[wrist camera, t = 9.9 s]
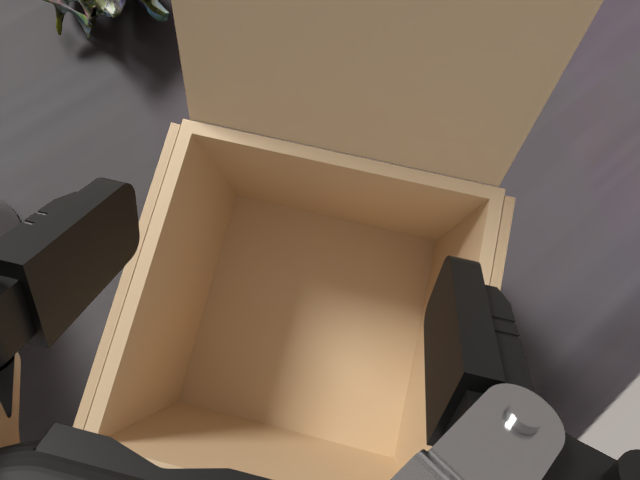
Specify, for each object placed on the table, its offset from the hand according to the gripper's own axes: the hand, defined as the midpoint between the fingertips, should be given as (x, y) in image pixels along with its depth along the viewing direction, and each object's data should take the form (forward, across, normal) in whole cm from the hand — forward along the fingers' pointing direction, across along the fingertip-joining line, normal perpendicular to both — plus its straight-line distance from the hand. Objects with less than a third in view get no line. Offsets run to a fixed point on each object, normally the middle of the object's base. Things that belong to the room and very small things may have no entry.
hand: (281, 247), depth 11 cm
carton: (+19, 0, +21) cm, 28 cm away
